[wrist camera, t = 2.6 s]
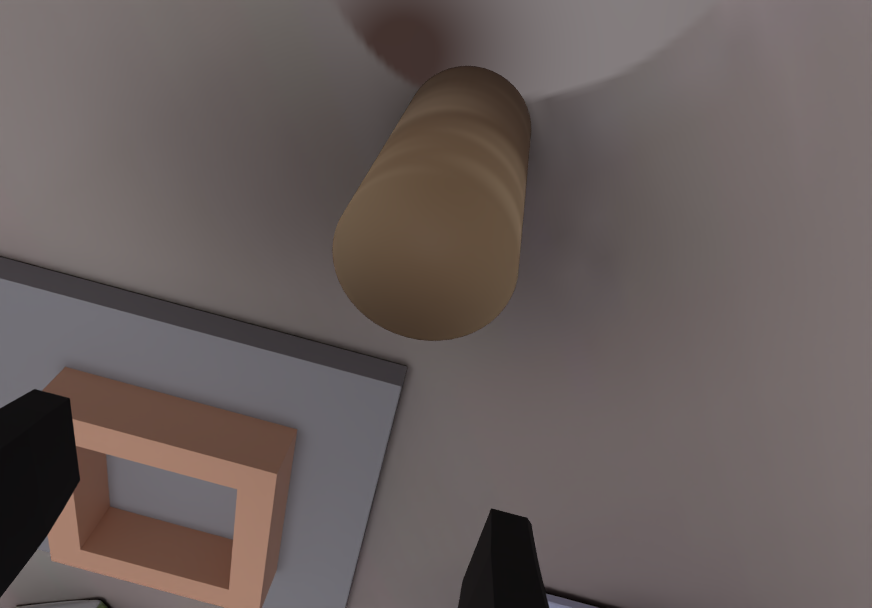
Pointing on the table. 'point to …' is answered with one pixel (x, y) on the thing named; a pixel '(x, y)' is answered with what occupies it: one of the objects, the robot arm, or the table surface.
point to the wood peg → (441, 210)
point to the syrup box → (70, 604)
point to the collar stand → (201, 442)
